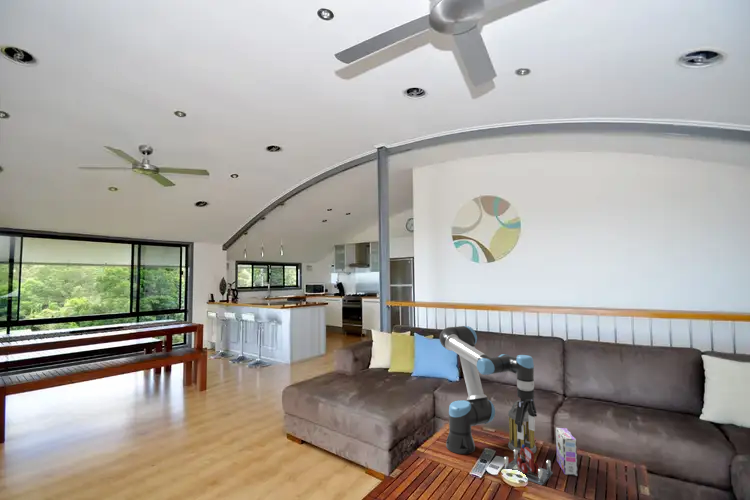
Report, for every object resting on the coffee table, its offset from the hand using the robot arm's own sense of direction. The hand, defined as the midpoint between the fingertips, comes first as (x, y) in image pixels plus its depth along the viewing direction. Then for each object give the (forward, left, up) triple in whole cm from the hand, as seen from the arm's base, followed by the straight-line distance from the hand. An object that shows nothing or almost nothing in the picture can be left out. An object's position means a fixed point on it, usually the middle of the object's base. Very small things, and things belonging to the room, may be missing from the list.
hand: (526, 434), depth 175 cm
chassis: (0, 0, -17) cm, 17 cm away
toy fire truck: (0, 0, -16) cm, 16 cm away
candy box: (+12, +17, -18) cm, 27 cm away
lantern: (-12, +23, -18) cm, 31 cm away
